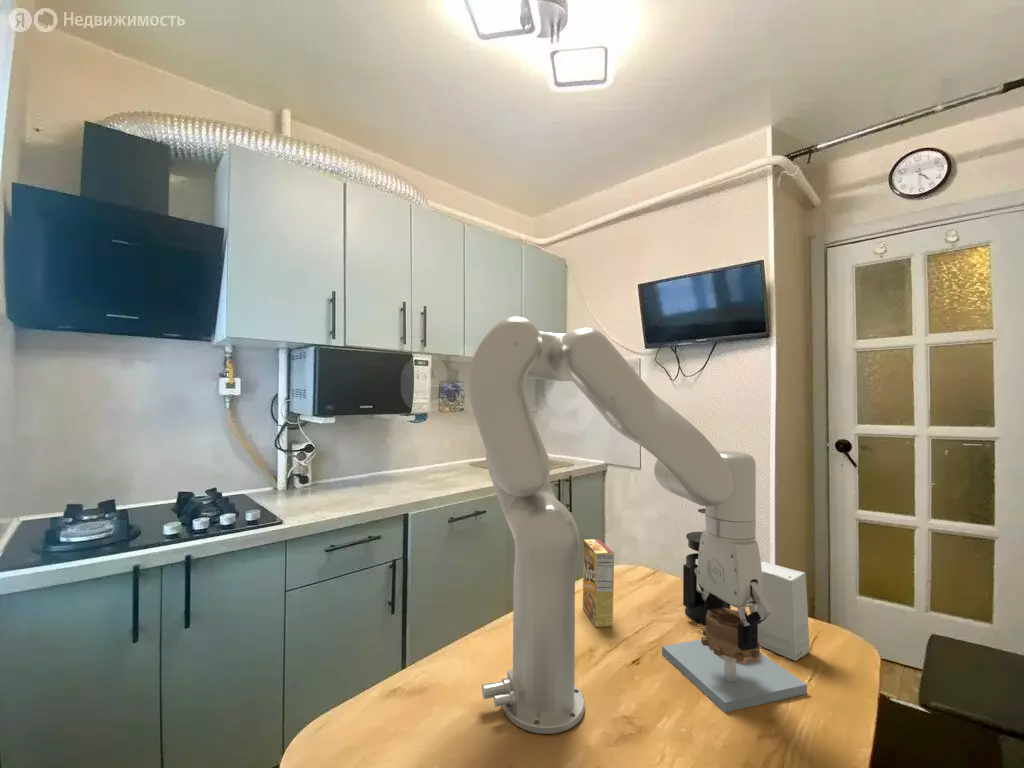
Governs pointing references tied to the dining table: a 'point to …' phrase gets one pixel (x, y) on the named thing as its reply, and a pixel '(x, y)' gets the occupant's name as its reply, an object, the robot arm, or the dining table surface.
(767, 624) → the skincare box
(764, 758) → the dining table surface
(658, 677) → the dining table surface
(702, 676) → the gear board
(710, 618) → the walnut gear
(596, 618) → the candy box
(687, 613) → the french press
